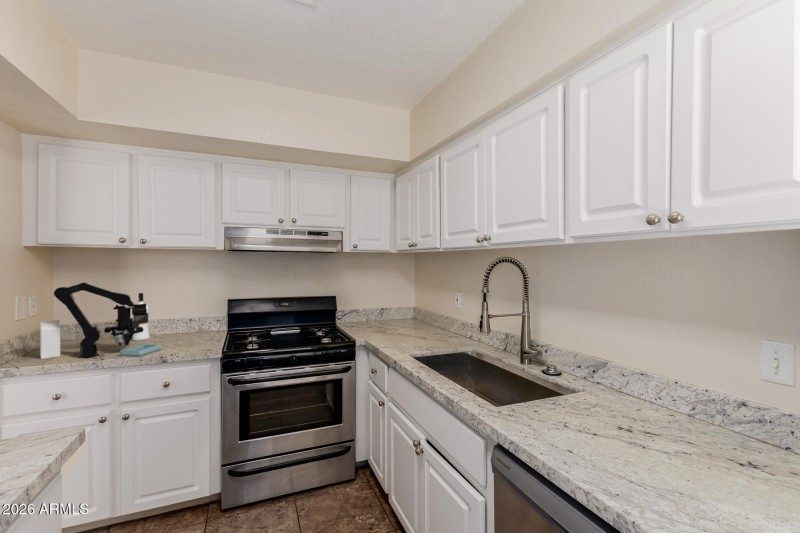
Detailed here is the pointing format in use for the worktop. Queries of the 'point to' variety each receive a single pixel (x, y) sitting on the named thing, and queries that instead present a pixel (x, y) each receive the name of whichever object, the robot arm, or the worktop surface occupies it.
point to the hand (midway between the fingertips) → (123, 345)
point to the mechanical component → (121, 340)
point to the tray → (140, 350)
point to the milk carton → (50, 339)
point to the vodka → (141, 323)
